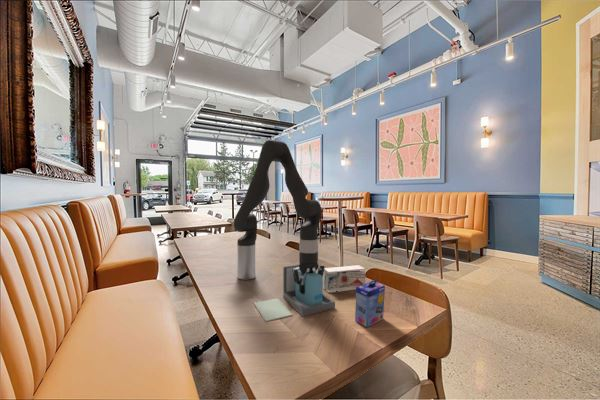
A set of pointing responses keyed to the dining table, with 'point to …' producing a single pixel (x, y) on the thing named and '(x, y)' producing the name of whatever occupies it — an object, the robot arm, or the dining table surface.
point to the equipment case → (290, 296)
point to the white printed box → (343, 278)
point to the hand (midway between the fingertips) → (308, 292)
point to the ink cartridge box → (369, 303)
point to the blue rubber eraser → (311, 289)
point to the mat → (272, 309)
